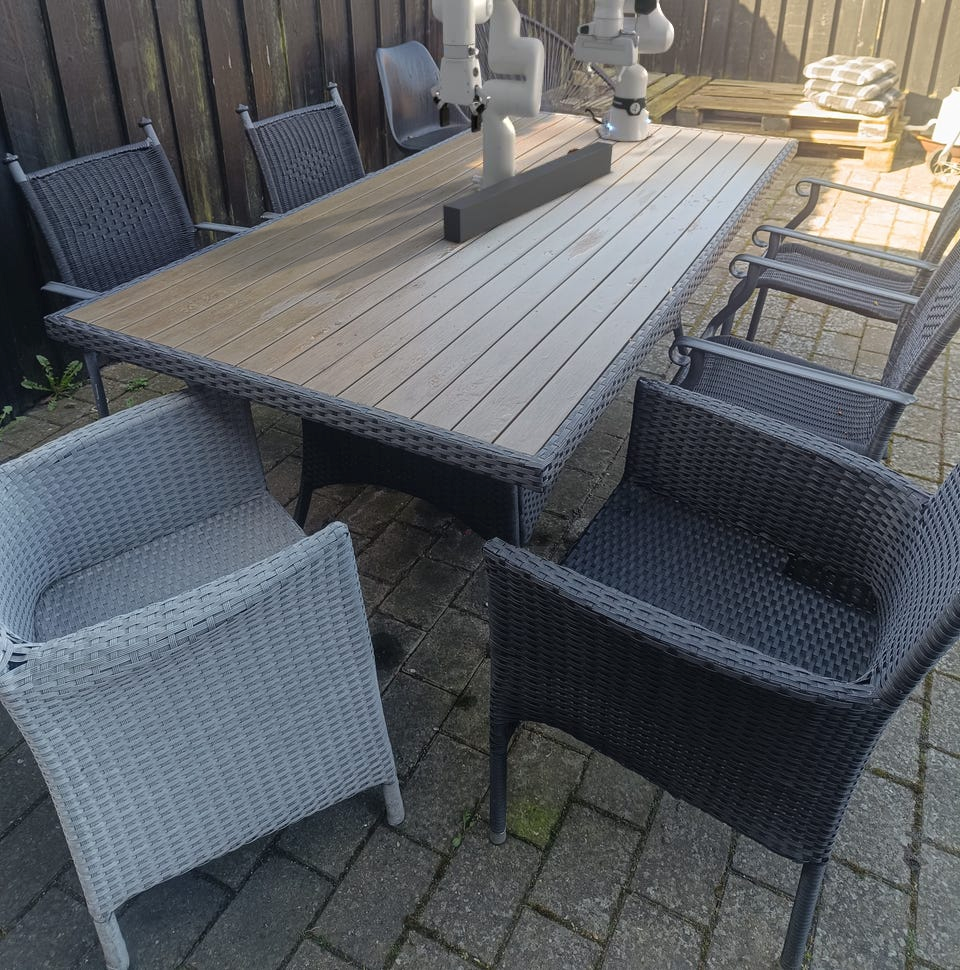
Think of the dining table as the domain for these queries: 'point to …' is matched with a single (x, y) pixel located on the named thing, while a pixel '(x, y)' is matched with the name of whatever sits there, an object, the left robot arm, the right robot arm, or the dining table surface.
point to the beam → (524, 191)
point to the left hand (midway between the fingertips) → (460, 128)
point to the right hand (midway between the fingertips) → (603, 79)
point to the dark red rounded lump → (572, 150)
